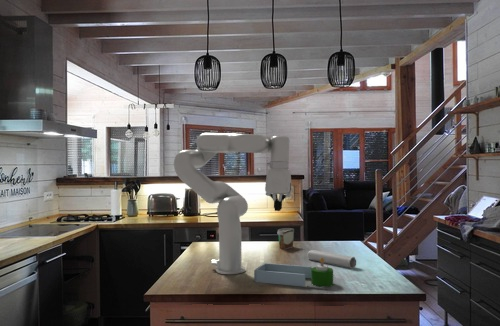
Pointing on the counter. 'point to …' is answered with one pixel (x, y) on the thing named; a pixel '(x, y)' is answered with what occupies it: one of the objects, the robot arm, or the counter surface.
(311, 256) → the tube
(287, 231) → the food container
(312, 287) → the strips
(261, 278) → the pale blue tray
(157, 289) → the counter surface
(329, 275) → the candle
